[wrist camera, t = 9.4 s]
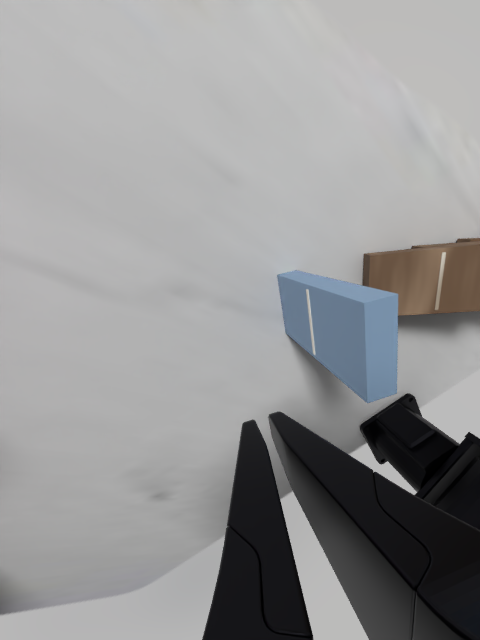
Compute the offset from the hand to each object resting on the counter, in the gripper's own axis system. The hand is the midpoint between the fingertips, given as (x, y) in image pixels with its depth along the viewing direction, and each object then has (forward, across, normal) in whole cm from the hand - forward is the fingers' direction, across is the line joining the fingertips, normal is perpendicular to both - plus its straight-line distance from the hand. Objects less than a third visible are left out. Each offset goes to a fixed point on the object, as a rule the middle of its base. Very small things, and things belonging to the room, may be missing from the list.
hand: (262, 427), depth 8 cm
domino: (+11, -13, 0) cm, 17 cm away
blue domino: (+12, -6, 0) cm, 14 cm away
